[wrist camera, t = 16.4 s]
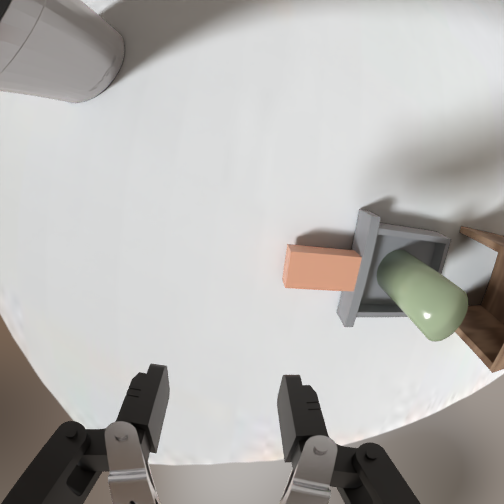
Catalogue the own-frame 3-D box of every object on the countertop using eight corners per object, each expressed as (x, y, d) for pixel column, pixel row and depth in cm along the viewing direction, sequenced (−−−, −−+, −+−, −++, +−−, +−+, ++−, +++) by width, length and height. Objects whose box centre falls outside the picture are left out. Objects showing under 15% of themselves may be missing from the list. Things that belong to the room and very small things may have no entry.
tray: (275, 309, 31) (279, 325, 28) (291, 200, 27) (297, 206, 24) (413, 312, 32) (424, 324, 29) (439, 222, 28) (454, 229, 25)
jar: (368, 276, 29) (414, 325, 19) (397, 240, 27) (454, 276, 18) (393, 299, 30) (438, 349, 20) (421, 266, 28) (474, 307, 19)
